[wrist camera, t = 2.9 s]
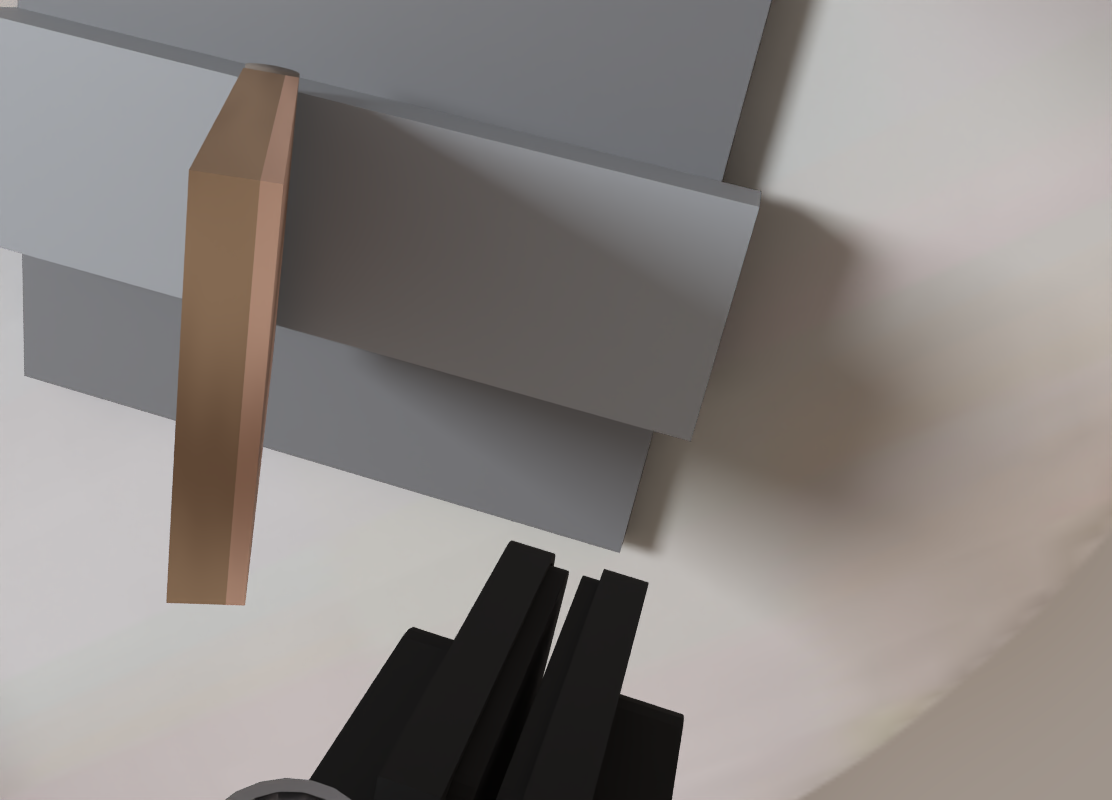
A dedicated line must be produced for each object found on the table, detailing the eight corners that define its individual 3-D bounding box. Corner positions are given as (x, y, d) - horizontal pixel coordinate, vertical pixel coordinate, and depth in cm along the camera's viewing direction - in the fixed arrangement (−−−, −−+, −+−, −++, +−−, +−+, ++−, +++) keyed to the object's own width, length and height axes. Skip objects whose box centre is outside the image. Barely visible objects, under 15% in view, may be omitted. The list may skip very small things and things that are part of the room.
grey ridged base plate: (41, -196, 25) (-56, -225, 22) (823, -25, 23) (829, -33, 20) (46, 365, 31) (-30, 400, 28) (656, 545, 29) (643, 604, 26)
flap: (299, 70, 23) (246, 60, 22) (282, 184, 13) (188, 170, 13) (274, 342, 26) (226, 337, 25) (244, 605, 16) (166, 602, 15)
